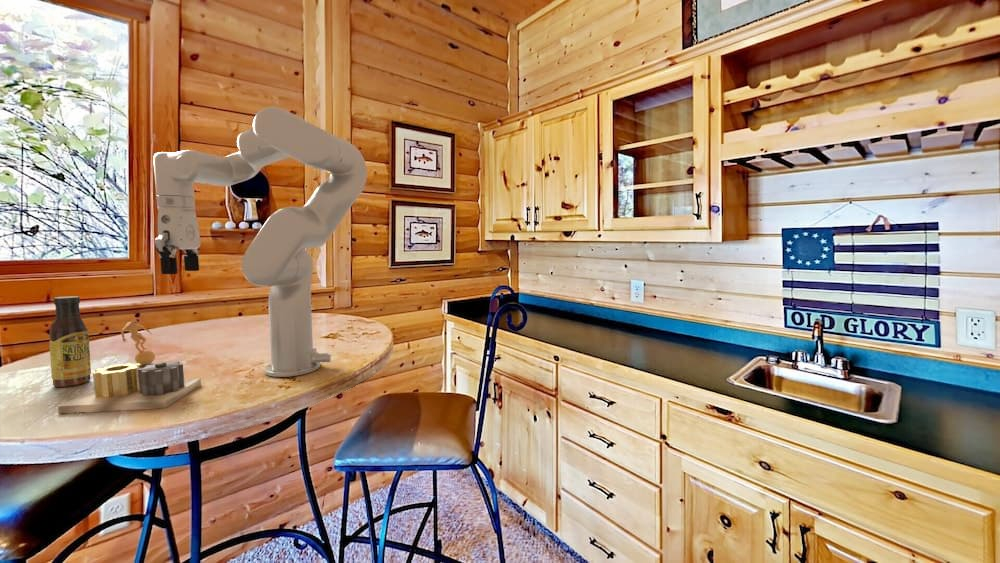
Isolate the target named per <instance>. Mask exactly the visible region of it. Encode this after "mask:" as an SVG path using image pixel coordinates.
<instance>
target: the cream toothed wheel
mask: <svg viewBox="0 0 1000 563" xmlns="http://www.w3.org/2000/svg"><path fill="white" fill-rule="evenodd" d="M141 368H142V365H141V364H138V363H133V362H126V363H122V364H111V365H108V366H106V367H102V368H100V367H99V368H97V369H95V371H93V372H92V380H93V390H94V391H95V397H96V398H98V397H103V399H107V398H111V397H117V396H121V397H122V396H126V395H128V394H130V393H133V392H138V391H140V389H139V378H138V369H141Z"/></svg>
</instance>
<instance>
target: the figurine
mask: <svg viewBox="0 0 1000 563" xmlns="http://www.w3.org/2000/svg"><path fill="white" fill-rule="evenodd" d="M124 325H125V326H124V327H123V328H122V329H121V330H120V334H121V337H122V342H123V343H126V342H127V340H128V339H127V338H125V333H124V332H125V331H128V332H129V333H130V334H131V335H130V339H131V340H132V341H134V342H135V344H134V346H135V349H136V350H137V351H138V352H137V353H136V354H135V355H134V356H135V357H134V360H135V362H136V364H141V366H147V365H151V364H152V363H153V362H154V361H155V358H156V355H155V353H154V352H153V351H152V350H150V349H148V348H146V347H144V344H145V343H146V342H147V338H145V337H144V335H142V333H141V332H139V328H142V329H143V330H144V331H146V332H147V333H149V334H150V335H153V333H152V332H151V331H150V330H149V329H148V328H147V327H145V326H144V325H142V324H140V323H138V320H137V319H133V320H132V321H128V322H126V323H125V324H124ZM139 345H140V347H141V348H142V349H141V348H140V347H139Z"/></svg>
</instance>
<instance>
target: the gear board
mask: <svg viewBox="0 0 1000 563" xmlns="http://www.w3.org/2000/svg"><path fill="white" fill-rule="evenodd" d="M184 374H185V373H184V363H180V361H171V362H167V361H161V362H157V363H153V364H148V365H144V367H141V369H138V378H139V389H140V391H138V392H133V393H130V394H128V395H126V396H122V397H121V396H117V397H111V398H107V399H103V397H98V398H96V397H95V391H94V389H93V390H91V391H88V392H86V393H84V394H82V395H80V396H78V397H75V398H73V399H72V400H71V399H70V400H69V401H67V402H64V403H62V404H61V405H57V411H58V414H59V415H61V414H60V413H68V414H80V413H79V412H85V413H96V412H97V413H100V412H101V411H102V412H116V411H117V412H118V410H121V411H132V410H133V411H134V410H139V411H140V410H148V409H149V410H152V409H153V410H156V409H167V408H168V407H169V406H171V405H172V404H174V403H175V402H178V400H181V399H182V398H183V397H185V396H186V395H188V394H189V393H191V392H193V391H194V390H196V389H197V388H199V387H200V386H202V380H201V378H185V377H184V376H185V375H184ZM72 412H73V413H72ZM74 412H76V413H74Z"/></svg>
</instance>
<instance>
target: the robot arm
mask: <svg viewBox="0 0 1000 563" xmlns="http://www.w3.org/2000/svg"><path fill="white" fill-rule="evenodd" d="M236 143H237V144H236V145H237V148H238V151H237V152H234V153H231V154H229V155H225V156H218V155H215V154H210V153H207V152H202V151H198V150H192V149H186V150H180V151H176V152H167V151H165V152H164V151H161V152H156V153H154V155H153V171H154V172H153V173H154V184H155V185H154V186H155V195H156V196H155V197H156V207H157V212H158V213H157V237H156V238H155V239H154V240H153V241H154V245H155V247H156V251H157V252H158V257H159V259H160V269H161V270H160V271H161V275H178V261H177V257H175V255H176V253H177V250H182V252H183V253H184V254H185V255H183V263H184V264H183V265H184V270H185V272H199V271H200V261H199V260H200V258H199V256H200V249H201V248H200V247H201V237H200V236H201V235H200V228H199V227H200V226H199V222H198V218H197V214H196V203H195V202H196V201H195V189H194V188H195V187H194V183H197V184H203V185H209V186H216V187H228V186H229V187H230V186H234V185H236V184H239V183H243V182H245V181H248V180H250V179H252V178H254V177H256V175H257V174H258V173H259V172H260V171H261V170H262V168H263V167H266V166H269V165H271V164H274V163H276V162H280V161H283V160H286V159H289V158H292V159H293V160H295V161H297V162H300V163H301V164H303V165H305V166H307V167H311V168H312V169H315V170H319V171H322V172H325V173H329V177H328V178H327V179H326V180H325V181H323V182H322V183H321V184H319V186H318V187H317V188H316V189H315V190H314V192H312V195H311V197H309V199H308V200H307V202H306V203H305V204H304V205H302V206H301V207H298V206H286V207H281V208H279V209H277V210H275V212H273V213H272V214H271V215H270V216H269V217H268V218H267V220H266V221H265V222H264V224H263V225H262V227H261V228H260V230H258V233H257V234H256V235H255V237H254V239H253V240H252V241H251V243H250V245H249V246H248V247H247V249H246V251H245V253H244V254H243V258H242V260H241V272H242V274H243V277H244V278H245V279H246V281H247V282H248V283H250V284H252V285H253V286H257V287H261V288H264V287H267V288H268V287H270V290H269V294H268V301H267V302H268V322H269V325H268V326H269V340H270V356H271V357H270V359H271V363H269V364H267V365H266V366H265V367H264V373H265V375H267V376H269V377H275V378H287V377H289V378H290V377H296V376H302V375H307V374H310V373H312V372H315V371H316V370H318V369H319V368H320V367H321V363H331V361H332V355H331V354H329V353H328V352H323V353H322V352H321V353H319V352H317V348H316V347H315V348H314V343H313V342H314V340H313V339H314V338H313V319H312V280H313V274H314V261H313V258H312V255H311V254H310V252H309V251H308V250H309V249H316V248H320V247H322V246H324V245H325V244H326V243H327V242H328V241H329V239H330V238H331V237H332V235H333V233H334V232H335V231H336V229H337V228H338V227H339V225H340V224H341V222H342V220H343V219H344V218H345V216H346V215H347V213H348V211H349V210H350V209H351V208H352V205H353V204H354V203H355V202H356V200H357V199H358V198H359V197H360V195H361V193H362V192H363V190H364V188H365V185H366V183H367V178H368V169H367V165H366V161H365V158H364V157H363V155H362V153H361V152H360V150H359V149H358V148H357V147H356V146H355V145H354V144H352V143H351V142H349V141H348V140H346V139H344V138H342V137H340V136H337V135H335V134H333V133H331V132H329V131H327V130H325V129H322V128H320V127H318V126H316V125H314V124H312V123H310V122H307V121H306V120H305V119H304V118H302V117H300V116H298V115H297V114H295V113H292V112H290V111H288V110H286V109H285V108H281V107H277V106H268V107H264V108H262V109H260V110H259V111H258V112H257V113H256V115H255V116H254V119H253V122H252V128H251V129H248V130H245V131H242V132H240V133H239V135H238V136H237V140H236ZM307 249H308V250H307Z"/></svg>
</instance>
